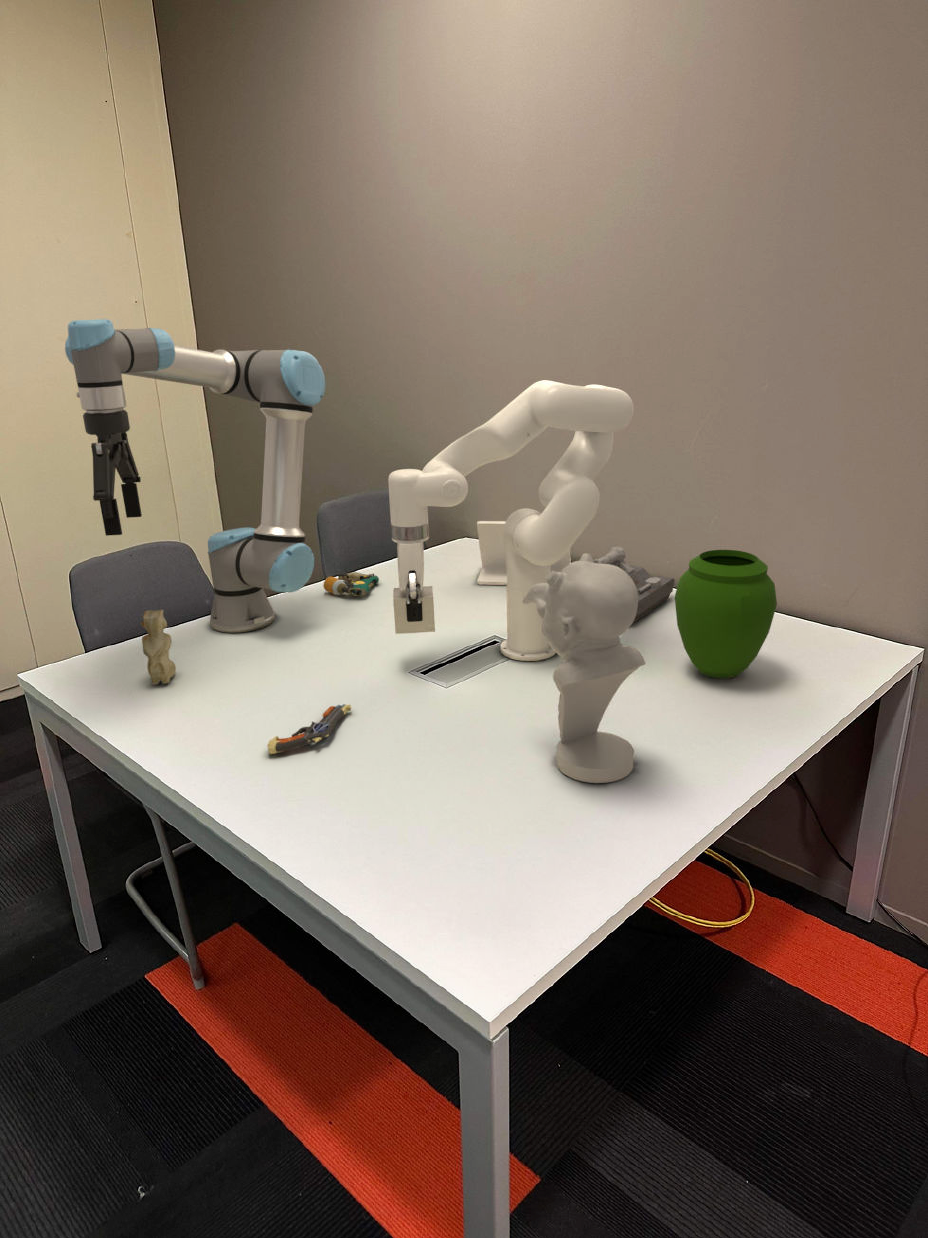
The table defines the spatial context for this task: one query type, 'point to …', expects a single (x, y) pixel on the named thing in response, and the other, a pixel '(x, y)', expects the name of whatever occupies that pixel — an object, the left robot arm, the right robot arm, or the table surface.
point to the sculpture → (157, 647)
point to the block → (401, 612)
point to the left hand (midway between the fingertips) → (124, 525)
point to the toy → (641, 582)
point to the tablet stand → (500, 554)
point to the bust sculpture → (589, 662)
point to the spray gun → (350, 583)
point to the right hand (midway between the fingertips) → (414, 613)
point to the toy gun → (310, 731)
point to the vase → (724, 611)
